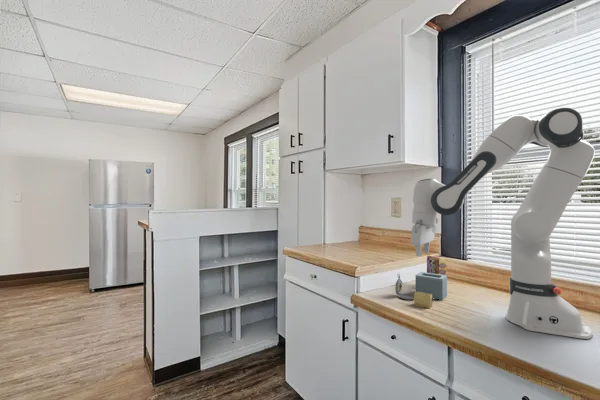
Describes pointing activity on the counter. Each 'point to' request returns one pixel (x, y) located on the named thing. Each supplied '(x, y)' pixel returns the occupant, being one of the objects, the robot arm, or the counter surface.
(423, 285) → the blue grey rectangular container
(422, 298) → the tan wooden block
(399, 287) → the pocket watch
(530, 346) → the counter surface
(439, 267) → the candy box
